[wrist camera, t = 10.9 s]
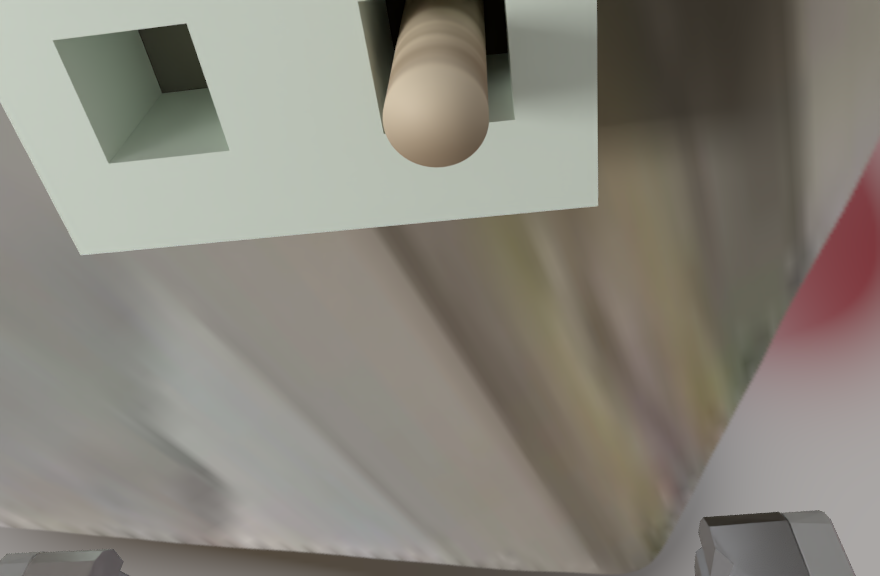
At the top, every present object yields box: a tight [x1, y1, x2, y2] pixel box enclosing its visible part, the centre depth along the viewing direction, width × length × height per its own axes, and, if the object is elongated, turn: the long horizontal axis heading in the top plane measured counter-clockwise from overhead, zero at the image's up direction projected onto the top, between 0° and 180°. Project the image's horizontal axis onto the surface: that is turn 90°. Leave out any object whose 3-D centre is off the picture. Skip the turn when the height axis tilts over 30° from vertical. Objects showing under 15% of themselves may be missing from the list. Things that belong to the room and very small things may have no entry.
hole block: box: [0, 0, 598, 255], centre depth 27 cm, size 12×20×6 cm, turn 98°
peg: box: [383, 0, 489, 167], centre depth 25 cm, size 3×3×10 cm
